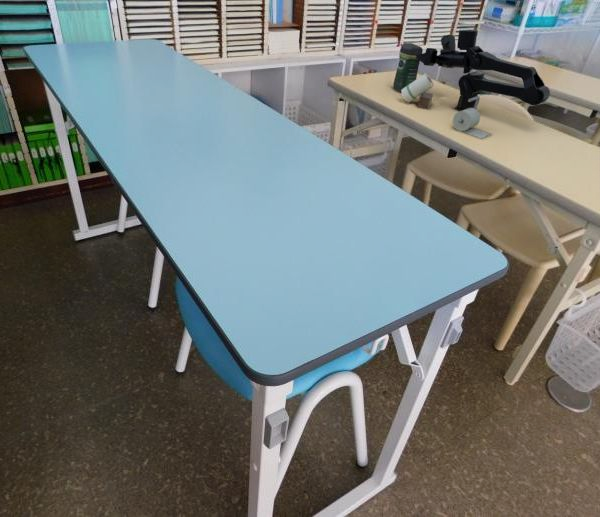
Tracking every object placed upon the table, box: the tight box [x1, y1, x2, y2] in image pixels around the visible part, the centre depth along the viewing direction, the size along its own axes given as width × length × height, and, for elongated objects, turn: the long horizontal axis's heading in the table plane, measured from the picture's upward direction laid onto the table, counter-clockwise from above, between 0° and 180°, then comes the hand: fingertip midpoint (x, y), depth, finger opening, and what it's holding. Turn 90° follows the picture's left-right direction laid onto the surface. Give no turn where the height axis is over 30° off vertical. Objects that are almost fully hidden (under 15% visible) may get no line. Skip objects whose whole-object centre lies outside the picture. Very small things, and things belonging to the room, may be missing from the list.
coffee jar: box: [392, 42, 424, 93], centre depth 189 cm, size 10×8×19 cm
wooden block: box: [417, 91, 434, 110], centre depth 178 cm, size 4×8×4 cm, turn 157°
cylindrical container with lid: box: [401, 72, 435, 103], centre depth 177 cm, size 12×6×12 cm, turn 67°
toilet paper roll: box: [452, 95, 490, 139], centre depth 156 cm, size 10×11×12 cm
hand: (423, 57), depth 184 cm, fingers open, 9 cm apart
